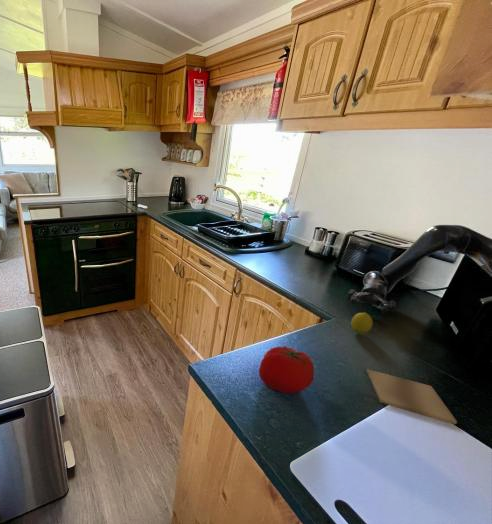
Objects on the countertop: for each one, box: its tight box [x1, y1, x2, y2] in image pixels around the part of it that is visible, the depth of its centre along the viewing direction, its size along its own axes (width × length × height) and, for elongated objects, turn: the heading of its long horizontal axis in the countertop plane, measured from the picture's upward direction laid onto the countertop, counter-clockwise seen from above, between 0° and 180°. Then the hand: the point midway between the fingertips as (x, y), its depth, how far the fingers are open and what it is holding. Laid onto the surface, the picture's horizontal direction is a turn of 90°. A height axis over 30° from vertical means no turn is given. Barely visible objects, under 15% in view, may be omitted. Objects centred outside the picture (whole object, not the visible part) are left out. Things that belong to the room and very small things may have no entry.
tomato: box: [258, 344, 315, 394], centre depth 71 cm, size 11×13×10 cm
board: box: [365, 368, 458, 425], centre depth 72 cm, size 14×12×1 cm
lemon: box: [350, 312, 374, 335], centre depth 96 cm, size 6×6×8 cm
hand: (368, 306), depth 102 cm, fingers open, 8 cm apart
